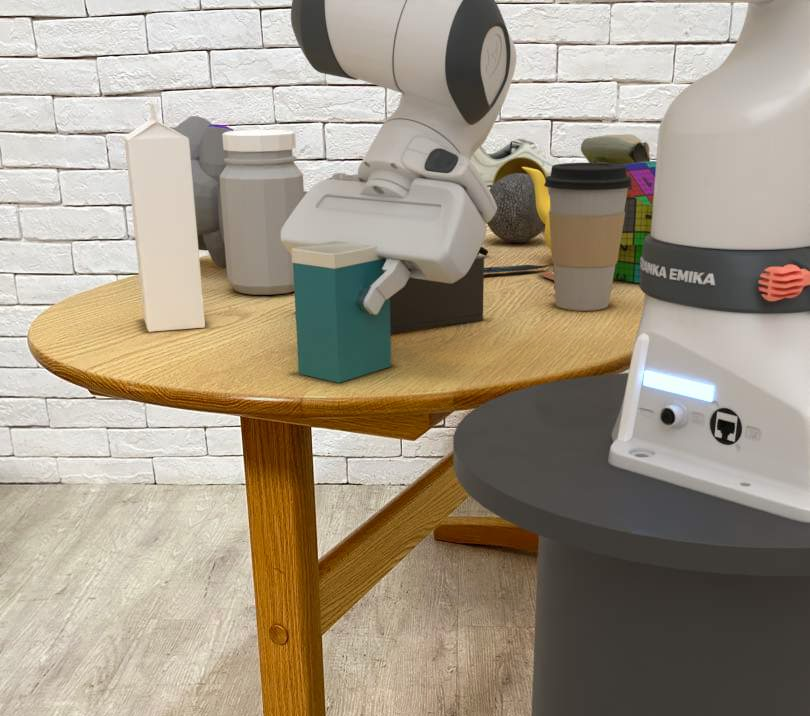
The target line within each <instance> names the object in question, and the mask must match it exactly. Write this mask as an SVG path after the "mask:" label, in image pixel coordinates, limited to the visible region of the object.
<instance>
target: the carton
mask: <svg viewBox="0 0 810 716" xmlns="http://www.w3.org/2000/svg"><path fill="white" fill-rule="evenodd" d="M376 248H377V246H372V245H364V244H356V243H348V242H339V241H332V242H327V243H321V244H316V245H310V246H305V247H299V248H294V249H292V250H291V251H292V263H293V274H294V291H293V292H294V310H295V311H294V312H295V328H296V329H295V331H296V346H297V350H296V351H297V366H298V374H299V375H303V376H307V377H312V378H317V379H321V380H324V381H329V382H333V383H338V384H340V383H343V382H346V381H351V380H353V379H357V378H359V377H362V376H366V375H369V374H372V373H375V372H378V371H382V370H385V369H388V368H391V367H392V345H391V343H392V342H391V341H392V340H391V339H392V338H391V336H392V334H391V333H390V298H388V299H387V300H385V301H384V303H383V305H382V307H381V309H380V311H379V312H378V314H376V315H375V314H369V313H364V312H362V311H361V310H360V308H358V306H357V305H356V299H357V297H358V295H360V291H361V290H362V288H363V286H369V287H370V286H371V285H372V284H373V283H374V282H375V281H376V280H377V279H378V278H379V277H380V276H381V275H382V274H384V273H385V272H384V271H383V270H382V268H383V266H384V264H385V262H386V260H385V259H384V258H383V257H377V255H376V252H375V251H376Z"/></svg>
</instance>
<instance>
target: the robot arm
mask: <svg viewBox="0 0 810 716" xmlns="http://www.w3.org/2000/svg"><path fill="white" fill-rule="evenodd" d="M649 1H651V2H655V3H660V4H661V3H662V4H666V3H667V4H704V3H705V4H715V3H716V4H718V3H719V4H722V3H723V4H726V3H727V4H729V3H730V4H731V3H733V4H736V3H737V4H739V3H740V4H741V3H742V4H743V3H744V4H745V3H746V4H747V10H746V15H745V18H744V22H743V24H742V28H741V30H740V34H739V36H738V38H737V40H736V43H735V45H734V46H733V48H732V49H731V51H730V52H729V54H728V56H727V57H726V58H725V60H724V61H723V62H722V63H721V64H720V65H719V66H718V67H717V68H716V69H714V70H712V71H710V72H709V73H707V74H705V75H703V76H701V77H700V78H698V79H697V80H695V81H693V82H692V83H691V84H689V85H688V86H687V87H685V88H684V89H683V90H682V91H681V92H680V93H678V95H676V97H675V98H673V100H672V102H670V104H669V106H668V107H667V109H666V111H665V113H664V115H663V117H662V119H661V122H660V124H659V126H658V127H659V128H658V132H657V134H658V135H657V144H656V145H657V146H656V157H655V159H656V160H655V161H656V171H655V184H654V197H653V210H652V224H651V233H650V234H649V235H647V236H646V237H645V238H644V245H643V253H642V257H641V258H640V267H641V274H640V283H639V289H640V290H641V291H642V293H644V295H643V296H644V297H643V303H642V311H641V316H640V320H639V325H638V329H637V333H636V335H635V340H634V344H633V347H632V348H633V349H632V352H631V358H630V364H629V369H628V373H629V374H628V379H627V384H626V389H625V395H624V399H623V402H622V406H621V409H620V412H619V415H618V418H617V421H616V423H615V426H614V428H613V431H612V434H611V437H612V440H613V444H612V445H611V447H610V451H609V457H608V463H609V464H610V465H612V466H615V467H618V468H621V469H624V470H627V471H631V472H634V473H637V474H641V475H644V476H647V477H651V478H654V479H657V480H661V481H664V482H667V483H671V484H674V485H678V486H681V487H684V488H688V489H691V490H694V491H698V492H701V493H704V494H708V495H711V496H714V497H718V498H721V499H724V500H728V501H731V502H734V503H738V504H741V505H744V506H748V507H751V508H754V509H758V510H761V511H764V512H768V513H771V514H774V515H778V516H781V517H784V518H788V519H791V520H795V521H799V522H804V523H810V0H649ZM290 23H291V28H292V31H293V34H294V37H295V40H296V42H297V44H298V46H299V48H300V50H301V52H302V54H303V55H304V57H305V59H306V60H307V61H308V63H309V64H310V66H311V67H312V68H313V69H314V70H315V71H316V72H317V73H320V74H324V75H329V76H334V77H339V78H345V79H350V80H353V81H354V80H355V81H357V80H359V81H363V82H366V83H368V84H372V85H374V86H375V85H376V86H379V87H382V88H385V89H388V90H391V91H394V92H398V93H400V99H399V102H398V105H397V108H396V110H395V111H394V112H393V113H392V114H391V115H390V116H388V118H387V119H385V121H384V122H383V124H382V126H381V127H380V129H379V131H378V132H377V134H376V136H375V137H374V139H373V141H372V143H371V145H370V146H369V148H368V150H367V152H366V153H365V155H364V157H363V159H362V160H361V162H360V164H359V166H358V168H357V174H346V173H344V172H343V173H342V172H338V173H337V172H336V173H334V174H332V176H331V177H327V178H326V179H323V180H320V181H318V182H316V183H315V184H314V185H313V186H311V188H309V190H308V191H307V193H306V195H305V196H304V197H303V198H302V200H301V201H300V202H299V204H298V205H297V206H296V208H295V209H294V211H293V212H292V213H291V215H290V216H289V218H288V219H287V221H286V222H285V224H284V226H283V227H282V229H281V233H280V235H281V242H282V244H283V245H284V247H285V248H286V249H287V250H288V252H289V253H290V254H291V255H292V251H291V250H292V249H294V248H299V247H305V246H310V245H316V244H321V243H327V242H332V241H339V242H348V243H356V244H364V245H372V246H377V248H376V251H375V252H376V255H377V257H383V258H384V259H385V260H386V262H385V264H384V266H383V268H382V270H383V271H384V272H385V273H384V274H382V275H381V276H380V277H379V278H378V279H377V280H376V281H375V282H374V283H373V284H372V285H371V286H370V287H369V286H363V288H362V290H361V291H360V295H358V297H357V299H356V305H357V306H358V308H360V310H361V311H362V312H364V313H369V314H375V315H376V314H378V312H379V311H380V309H381V307H382V305H383V303H384V301H385V300H387V299H388V298H390V297H391V296H392V295H394V294H395V293H396V292H398V291H399V290H400V289H402V288H403V287H404V286H405V285H406V283H407V281H408V279H409V278H415V279H422V280H430V281H437V282H444V283H454V282H456V281H458V280H459V279H461V278H462V277H463V276H465V275H466V274H467V272H468V271H469V269H470V267H471V266H472V264H473V262H474V260H475V258H476V256H477V254H478V252H479V250H480V248H481V247H482V245H483V243H484V241H485V237H486V235H487V223H488V222H489V221H490V220H491V219H492V218H493V216H494V215H495V213H496V211H497V205H496V203H495V200H494V198H493V196H492V194H491V192H490V190H489V189H488V187H487V185H486V183H485V182H484V180H483V178H482V177H481V175H480V174H479V172H478V171H477V169H476V168H475V167H474V165H473V164H472V163H471V161H470V160H471V157H472V155H473V153H474V152H475V151H476V150H477V149H478V148H479V147H480V146H483V144H484V143H485V141H486V140H487V138H488V136H489V134H490V133H491V130H492V129H493V127H494V125H495V123H496V121H497V119H498V117H499V114H500V112H501V110H502V108H503V105H504V103H505V100H506V99H507V95H508V93H509V90H510V87H511V84H512V82H513V78H514V74H515V71H516V66H517V49H516V45H515V43H514V40H513V38H512V36H511V35H510V33H509V31H508V28H507V25H506V21H505V20H504V17H503V15H502V12H501V10H500V8H499V5H498V4H497V2H496V0H292V1H291V8H290Z"/></svg>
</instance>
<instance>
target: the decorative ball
mask: <svg viewBox="0 0 810 716" xmlns="http://www.w3.org/2000/svg"><path fill="white" fill-rule="evenodd" d="M490 192H491V194H492V196H493V198H494V200H495V203H496V205H497V211H496V213H495V215H494V216H493V218H492V219H491V220H490V221H489V222H488V223H486V225H487V227H488V228H489V229H490V231H491V232H492V233H493V234H494V235H495V236H496V237H497V238H499V239H500V240H502V241H505V242H508V243H511V244H522V243H526V242H530V241H531V240H533V239H534V238H536V237H537V236H539V235H540V234H541V233H542V232H543V231H545V224H544V223H543V222H542V220H541V219H540V217H539V215H538V212H537V208H536V197H535V187H534V183H533V180H532V178H531V176H530V175H527V174H523V173H514V174H510V175H507V176H504V177H503V178H501V179H499V180H498V181H497V182H496V183H495V184H494V185H493V186H492V187H491V188H490Z"/></svg>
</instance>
